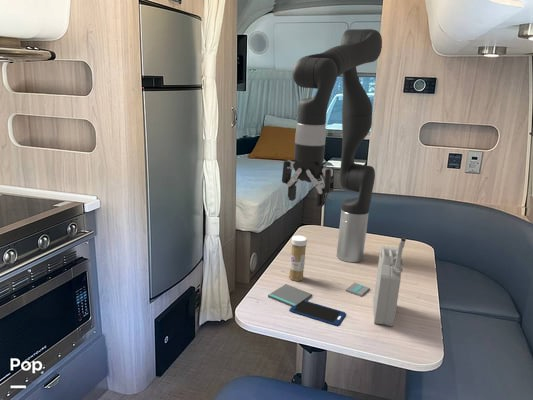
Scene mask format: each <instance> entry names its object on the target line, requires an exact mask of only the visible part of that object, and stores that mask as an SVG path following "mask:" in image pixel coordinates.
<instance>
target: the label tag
mask: <svg viewBox="0 0 533 400" xmlns="http://www.w3.org/2000/svg"><path fill="white" fill-rule="evenodd" d="M370 289H371V288H370V286H369V287H368V286H365V285H364V284H361V283H356V282H354V283H352V284H350V285H349V286H348V287H347V288H346V289H345V292H347V293H350V294H352V295H353V294H354V295H356V296H358V297H362V296H364V295H365V294H366V293H367V292H368V291H369V290H370Z"/></svg>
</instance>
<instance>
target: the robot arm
mask: <svg viewBox="0 0 533 400" xmlns="http://www.w3.org/2000/svg"><path fill="white" fill-rule="evenodd" d="M382 48H383V38H382V34H381V33H380V32H379V31H378V30H376V29H373V28H366V29H364V28H363V29H362V28H360V29H346V30H345V31H344V32H343V34H342V36H341V41H340V45H336V46H333V47H331V48H329V49H327V50H325V51H323V52H320V53H314V54H310V55H306V56H303V57H301V58H299V59H298V60H297V61H296V62H295V64H294V66H293V68H292V78H293V82H295V83H294V84H296V85H297V86H298V87H300V88H303V89H316V90H317V91H316V92H315V95H313V97H306V98H302V99H300V100H299V102H298V106H297V118H296V121H297V123H296V130H295V137H294V155H293V158H294V161H293V160H292V159H289V160H285V161H283V167H282V177H281V182H282V184H286V185H287V188H288V189H287V198H288V200H289V201H291V202H293V201H295V200H296V197H297V185H296V184H298V183H299V181H300V182H301V181H302V182H307V183H310V184H312V185H313V187H315V188H316V190H317V192H318V193H317V199H316V208H318V209H319V208H323V207H324V205H325V204H326V198H327V194H329V193H331V192H333V191H334V190H335V189H334V188H335V168H334V167H331V168H330V167H329V168H326V167H325V168H324V160H325V151H326V140H327V139H326V137H327V130H326V128H327V127H326V126H327V125H326V124H327V114H328V113H327V111H328V106H329V102H330V99H331V97H332V96H331V95H332V92H333V91H334V87H335V85H336V82H337V79H338V77H339V76H340V75H342V107H341V108H342V109H341V121H342V122H341V123H342V124H341V128H342V129H341V130H342V131H341V132H342V133H341V134H342V137H341V138H342V141H341V142H342V144H341V146H342V147H341V159H340V167H339V169H340V170H339V184H340V187H341V188H342V189H344V190H347V191H351V192H356V193H358V196H357V197H355V198H347V199H345V200H343V201H342V203H341V209H340V210H341V211H340V221H339V227H338V228H339V229H338V237H337V246H336V257H337V258H338V259H339V260H341V261H344V262H348V263H358V262H362V261H363V259H364V252H365V244H366V236H367V229H368V221H369V214H370V207H371V203H372V196H373V191H374V185H375V179H376V171H375V168H374V167H373V166H371V165H366V164H362V163H361V164H360V163H355V155H356V153H357V152H356V151H357V150H358V148H359V146H360V145H361V143H362V142H363V141H364V140H365V138H366V137H367V136H368V134H369V132H370V131H371V129H372V124H373V103H372V102H371V99H370V97H369V95H368V93H367V92H366V89H364V86H363V85H362V83H361V81H360V79H359V75H358V71H357V67H358V66H361V65H362V66H363V65H365V64H369V63H374V62H376V61H377V60H378V58H380V56H381V53H382ZM293 169H294V171H295V173H294V174H293V175H292V171H293ZM322 174H323V176H322ZM323 177H324V178H323Z"/></svg>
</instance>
